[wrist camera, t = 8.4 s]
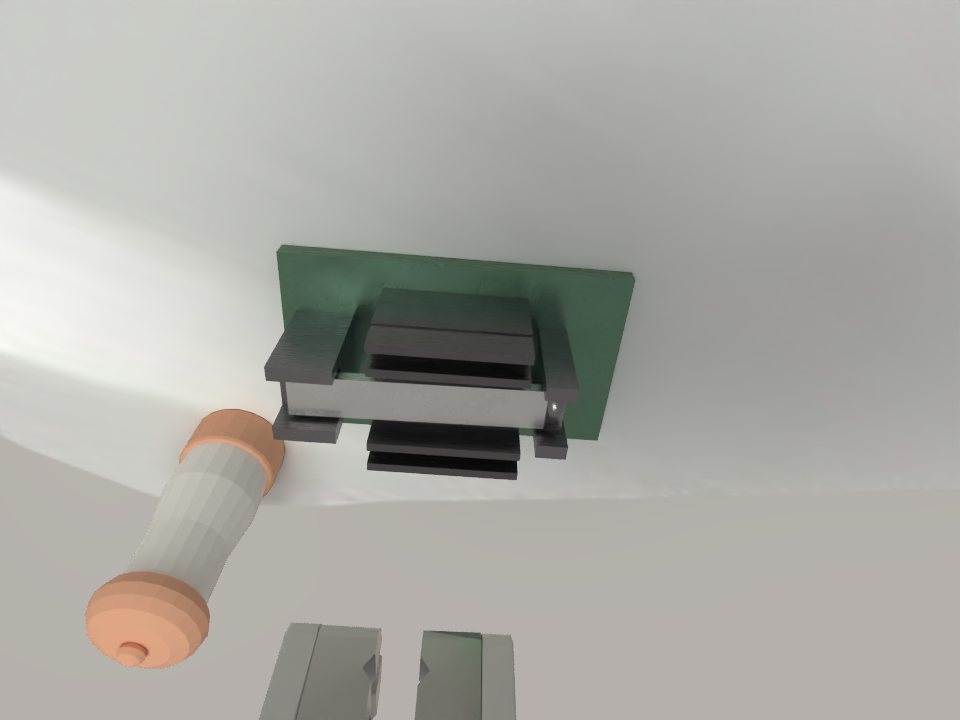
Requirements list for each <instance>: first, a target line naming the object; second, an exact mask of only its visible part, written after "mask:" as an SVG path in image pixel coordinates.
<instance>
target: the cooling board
mask: <svg viewBox="0 0 960 720" xmlns="http://www.w3.org/2000/svg"><path fill="white" fill-rule="evenodd" d="M277 261H278V271H279V280H280V290H281V300H282V310H283V319H284V329H285V331H284V333H283V335H282V336H281V338H280V340H279V342H278V343H277V345H276V347H275V349H274V350H273V352H272V354H271V356H270V358H269V359H268V361H267V363H266V365H265V366H264V369H265V377H266V381H278V382H280V386H281V395H282V404H283V405H282V407H281V409H280V411H279V413H278V416H277V418H276V420H275V422H274V424H273V426H272V432H273V439H275V440H289V441H304V442H318V443H333V444H336V441H337V438H338V435H339V432H340V429H341V426H342V423H355V424H369V425H371V429H370V432H369V436H368V440H367V451H370V454H369V458H368V462H367V470H375V471H389V472H404V473H419V474H434V475H448V476H463V477H478V478H493V479H508V480H517V461H519V460H520V440H519V435H526V436H533V439H534V449H535V457H536V458H551V459H565V460H566V455H567V450H568V445H567V439H566V438H569V439H583V440H598V436H599V432H600V428H601V423H602V419H603V415H604V411H605V406H606V402H607V398H608V394H609V389H610V385H611V381H612V377H613V372H614V368H615V364H616V360H617V355H618V351H619V347H620V343H621V338H622V334H623V330H624V326H625V321H626V317H627V313H628V309H629V304H630V300H631V296H632V292H633V287H634V283H635V279H634V277H633V274H632V273H628V272H616V271H603V270H591V269H578V268H565V267H553V266H540V265H528V264H515V263H502V262H490V261H477V260H465V259H452V258H439V257H427V256H414V255H402V254H389V253H377V252H364V251H351V250H339V249H326V248H314V247H301V246H288V245H281V247H280V248H279V249H278V251H277ZM337 372H343V373H359V374H365V377H373V378H387V379H400V380H414V381H428V382H442V383H455V384H469V385H483V386H497V387H510V388H524V389H530V388H531V384H540V385H543V391H544V398H545V401H555V402H566V406H565V411H564V416H563V421H562V427H561V430H560V431H558V432H547V431H545V430H544V429H534V428H516V427H499V426H481V425H464V424H446V423H429V422H411V421H394V420H376V419H359V418H341V417H324V416H306V415H289V411H288V402H287V393H286V383H285V382H292V383H305V384H319V385H333V382H334V380H335V377H336V374H337Z"/></svg>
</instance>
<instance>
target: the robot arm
mask: <svg viewBox="0 0 960 720" xmlns="http://www.w3.org/2000/svg"><path fill="white" fill-rule="evenodd" d="M381 641H382V636H381V629H380V628H379V629H378V628H364V627H349V626H332V625H322V624H308V623H291V624H290V626H289V627H288V629H287V631H286V633H285V636H284V640H283V643H282V646H281V649H280V652H279V656H278V659H277V662H276V665H275V669H274V672H273V675H272V678H271V682H270V685H269V688H268V691H267V694H266V698H265V701H264V704H263V707H262V711H261V714H260V718H259V720H372V719H373V718H374V717H375V716H376V713H377V706H378V699H379V690H380V681H381V667H382V656H381V655H380V648H381ZM419 681H420V683H419V684H418V690H417V702H416V712H415V720H516V705H515V704H516V703H515V677H514V652H513V641H512V638H511V636H510V635H498V634H497V635H496V634H482V635H481V633H472V632H446V631H423V640H422V649H421V660H420V677H419Z"/></svg>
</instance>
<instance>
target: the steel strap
mask: <svg viewBox="0 0 960 720" xmlns="http://www.w3.org/2000/svg"><path fill="white" fill-rule="evenodd" d="M285 383H286V393H287V402H288V411H289V415H306V416H324V417H341V418H359V419H376V420H394V421H411V422H429V423H446V424H464V425H481V426H499V427H516V428H534V429H544V430H545V431H547V432H558V431H560V430H561V427H562V421H563V416H564V411H565V406H566V402H555V401H545V398H544V391H543V385H540V384H531V388H530V389H524V388H510V387H497V386H483V385H469V384H455V383H442V382H428V381H414V380H400V379H387V378H373V377H365V374H359V373H343V372H337V374H336V377H335V380H334V382H333V385H319V384H305V383H292V382H285Z"/></svg>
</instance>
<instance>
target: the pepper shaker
mask: <svg viewBox="0 0 960 720" xmlns="http://www.w3.org/2000/svg"><path fill="white" fill-rule="evenodd" d="M284 453H285V447H284V443H283V440H275V439H273V432H272V425H271V424H270V423H269V422H268V421H266V420H265V419H263V418H261V417H259V416H257V415H255V414H253V413H250V412H246V411H242V410H221V411H217V412H214V413H211V414H210V415H208V416H207V417H205V418H204V419H203V420H202V421H201V422H200V424H199V426H198V427H197V429H196V430H195V432H194V433H193V435H192V437H191V438H190V440H189V441H188V443H187V444H186V446H185V448H184V449H183V451H182V453H181V455H180V463H179V467H178V468H177V469H176V471H175V472H174V474H173V475H172V477H171V478H170V480H169V481H168V483H167V485H166V486H165V488H164V490H163V492H162V494H161V497H160V500H159V502H158V505H157V508H156V510H155V513H154V516H153V518H152V521H151V523H150V526H149V529H148V531H147V534H146V535H145V537H144V539H143V540H142V542H141V544H140V546H139V547H138V549H137V551H136V553H135V554H134V556H133V557H132V559H131V561H130V562H129V564H128V566H127V567H126V569H125V571H124V572H123V574H121V575H119V576H117V577H115V578H114V579H112V580H110V581H109V582H107V583H106V584H104V585H103V586H101V587H100V588H99V589H98V590H97V591H95V592H94V594H93V596H92V598H91V599H90V601H89V603H88V607H87V610H86V613H85V615H86V629H87V635H88V637H89V639H90V641H91V642H92V644H93V645H94V646H95V647H96V648H97V649H98V650H100V651H101V652H102V653H103V654H105V655H107V656H109V657H111V658H112V659H114V660H116V661H117V662H119V663H120V664H121V665H124V666H128V667H135V666H137V667H141V668H165V667H170V666H174V665H176V664H177V663H179V662H181V661H183V660H185V659H186V658H188V657H189V656H191V655H192V654H194V652H195V651H196V650H197V649H198V647H199V646H200V645H201V644H202V642H203V641H204V639H205V638H206V637H207V636H208V629H209V619H210V614H209V609H208V606H207V602H208V600H209V598H210V596H211V593H212V591H213V589H214V587H215V585H216V583H217V580H218V578H219V576H220V573H221V572H222V569H223V567H224V565H225V563H226V561H227V558H228V557H229V555H230V554H231V552H232V551H233V549H234V548H235V546H236V545H237V543H238V542H239V540H240V539H241V537H242V536H243V535H244V533H245V531H246V530H247V529H248V527H249V526H250V524H251V523H252V521H253V519H254V517H255V514H256V511H257V509H258V506H259V504H260V501H261V498H262V497H264V496H265V495H266V494H267V493H268V491H269V490H270V489H271V487H272V485H273V483H274V480H275V478H276V475H277V473H278V471H279V468H280V466H281V464H282V461H283V458H284Z"/></svg>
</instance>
